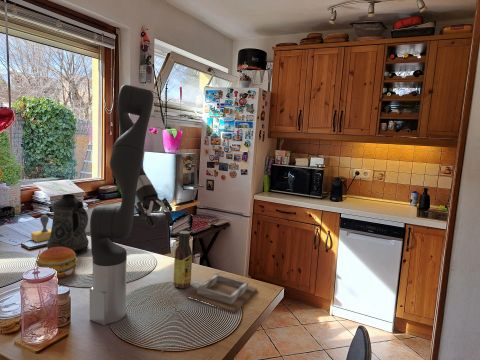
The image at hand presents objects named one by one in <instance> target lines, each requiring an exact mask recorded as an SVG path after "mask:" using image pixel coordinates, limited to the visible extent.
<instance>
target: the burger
mask: <svg viewBox="0 0 480 360" xmlns="http://www.w3.org/2000/svg"><path fill="white" fill-rule="evenodd" d="M76 255H77V254H75V252H74V251H73V250H72V249H70V248H67V247H53V248H49V249H48V248H47V249H45V250H43V251H42V252H41V253H40V254H39V255H38V257H39V259H38V257H37V259H38V261H37V259H36V267H37V266H39V267H49V268H53V269H55V270H56V271H57V277H58V278H57V279H61V278H65V277H68V276H69V275H71V274H73V273H74V272H75V269H76V268H77V263H78V259H77V256H76Z"/></svg>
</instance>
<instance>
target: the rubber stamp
mask: <svg viewBox="0 0 480 360" xmlns="http://www.w3.org/2000/svg"><path fill="white" fill-rule="evenodd" d="M49 220H50V219H49V215H47V214H42V215H41V216H40V219H39V221H40V223H41V225H42V230H37V231H32V232H30V233H31V234H30V235H31V236H30V237H31V238H30V239H32V240H31V241H33V240H34V241H33V242H35V241H36V242H35V243H40V241H41V242H44V241H49V238H50V235H51V229H52V227H51V228H47V226H48V223H49Z"/></svg>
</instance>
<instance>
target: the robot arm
mask: <svg viewBox="0 0 480 360" xmlns="http://www.w3.org/2000/svg"><path fill="white" fill-rule="evenodd" d="M153 105H154V93H153V91H151V90H150V89H147V88H142V87H139V86H135V85H131V84H123V85H122V86H120V89H119V93H118V97H117V115H118V126H119V135H118V138H117V139H116V140H115V141H114V143H113V146H112V149H111V154H110V157H109V158H110V160H109V166H110V170H111V173H112V174H113V177H114V179H115V180H116V183H117V185H118V187H119V190H120V193H121V202H120V205H119V206H118V205H103V204H102V205H97V206H95V207H94V208H93V209H92V212H91V215H90V218H89V219H90V220H89V232H90V247H91V251H90V252H91V257H92V286H91V287H90V288H89V320H90V321H92V322H95V323H98V324H99V325H102V326H106V325H108V324H112V323H117V322H119V321H121V320H122V319H123V318H125V316H126V315H127V268H128V267H127V259H128V257H127V256H128V255H127V253H128V252H127V249H125V247H124V246H120V245H119V244H116V243H115V242H113V241H112V240H111V239H117V240H118V239H119V240H121V239H122V240H123V239H124V240H125V239H127V238H129V236H130V235H131V233H132V229H133V225H134V224H133V223H134V215H135V210H136V214H137V215H138V217H139V219H141V220H142V219H144V220H146V222H147V224H148V226H150V228H154V227H155V226H156V222H155V220H154V218H153V216H152V215H151V214H152V213H157V212H158V213H160V214H162V215H164V217H165V218H166V220H167V222H168V224H172V222H173V221H174V218H173V216H172V215H171V212H172V211H173V206H171V203H170V202H169V200H167V198H166V197H164V198H163V199H160V198H159V194H158V192H157V190H156V188H155V187H154V185H153V183H152V182H151V179H150V178H149V177H148V175H147V174H146V172H145V170H144V168H143V167H142V164H143V163H142V162H143V157H144V152H145V151H144V149H145V144H146V143H145V141H146V137H147V132H148V131H147V130H148V126H149V122H150V117H151V115H152V109H153ZM130 115H135V116H138V118H137V119H136V122H133V120H132V119H131V117H130ZM136 198H137V200H138V201H137V202H136Z"/></svg>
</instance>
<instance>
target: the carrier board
mask: <svg viewBox="0 0 480 360" xmlns="http://www.w3.org/2000/svg"><path fill="white" fill-rule="evenodd" d="M257 292H258V288H257V287H255V286H252V285H251V286H250V285H249V282H247V281H244V280H240V279H237V278H233V277H229V276H226V275H222V274H219V273H216V274H215V275H213V276H212V277H210V278H209V279H208V280H207V281H205V282H203V283H202V284H200V285H199V286H197V288H196V289H194V290H193V291H191V292H190V293H188V294H186V298H187V297H191V298H193V299H197V300H199V301H203V302H206V303H209V304H211V305H214V306H216V307H219V308H221V309H220V310H222V309H224V310H223V311H225V310H227V311H226V312H228V311H229V312H228V313H231V312H232V314H235V313H237V311H238V310H239V309H240V308H241V307H243V306H244V304H246V303H247V302H248V300H249V299H250V298H252V297H253V296H254V294H256V293H257ZM216 307H215V308H216ZM219 308H218V309H219Z"/></svg>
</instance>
